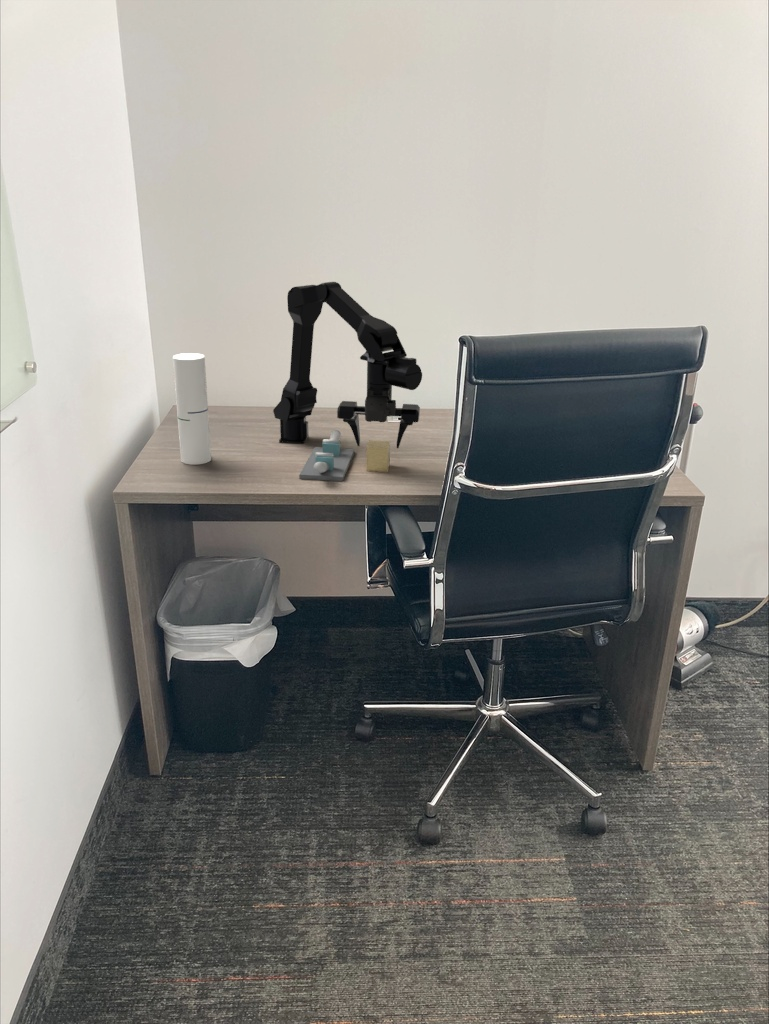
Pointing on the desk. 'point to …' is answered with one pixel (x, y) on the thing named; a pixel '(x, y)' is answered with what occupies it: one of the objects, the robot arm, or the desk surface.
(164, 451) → the desk surface
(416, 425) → the desk surface
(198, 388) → the cylindrical container
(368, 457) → the block
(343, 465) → the coupling stand
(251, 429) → the desk surface
